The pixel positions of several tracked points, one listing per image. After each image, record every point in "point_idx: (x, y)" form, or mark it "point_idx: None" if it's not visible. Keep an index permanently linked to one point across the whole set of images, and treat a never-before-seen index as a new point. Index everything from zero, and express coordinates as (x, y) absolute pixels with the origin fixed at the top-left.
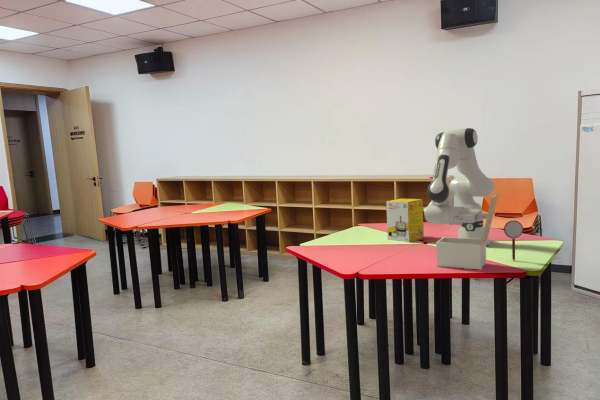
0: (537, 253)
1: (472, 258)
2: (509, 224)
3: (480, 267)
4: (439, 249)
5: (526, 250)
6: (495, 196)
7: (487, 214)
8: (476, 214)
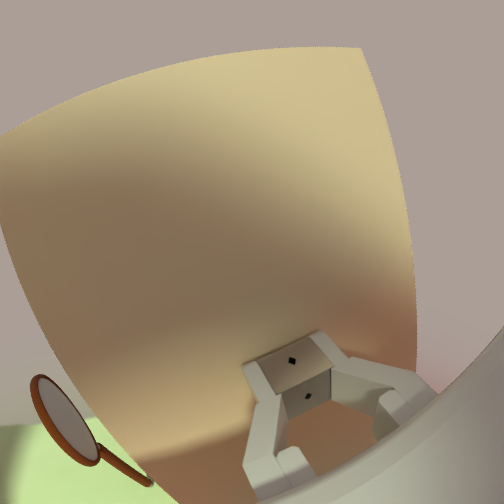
0: (38, 451)
1: None
2: (55, 415)
3: None
4: None
5: (15, 480)
6: (198, 71)
7: (285, 354)
8: (467, 367)
